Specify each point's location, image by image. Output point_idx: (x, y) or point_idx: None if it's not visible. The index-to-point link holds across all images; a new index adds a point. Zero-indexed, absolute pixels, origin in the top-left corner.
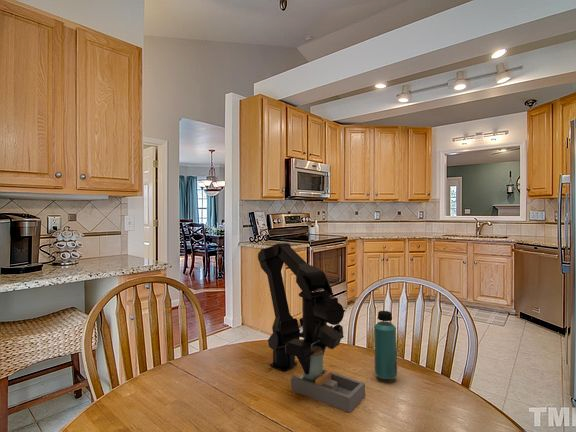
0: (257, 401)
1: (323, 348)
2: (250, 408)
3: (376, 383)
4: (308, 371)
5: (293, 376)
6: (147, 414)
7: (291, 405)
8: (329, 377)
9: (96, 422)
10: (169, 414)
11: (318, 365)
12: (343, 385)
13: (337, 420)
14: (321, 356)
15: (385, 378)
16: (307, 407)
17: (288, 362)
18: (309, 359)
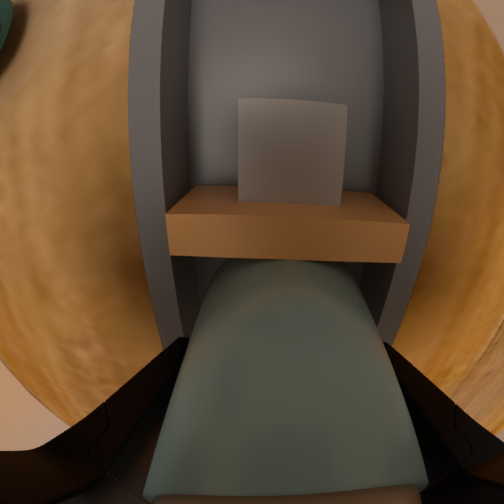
0: (455, 364)
1: (94, 483)
2: (486, 351)
3: (36, 34)
4: (399, 357)
5: None
6: (491, 422)
7: (464, 270)
8: (212, 201)
9: (499, 429)
10: (494, 411)
11: (361, 348)
12: (183, 87)
13: (468, 37)
14: (311, 450)
15: (12, 8)
16: (460, 201)
17: None
18: (470, 446)
